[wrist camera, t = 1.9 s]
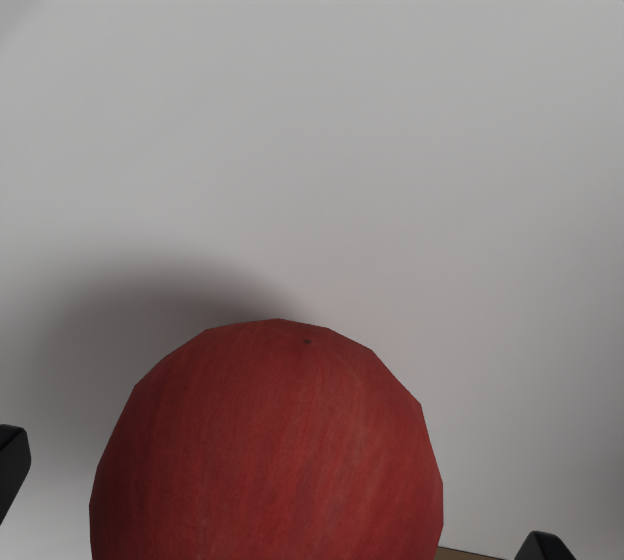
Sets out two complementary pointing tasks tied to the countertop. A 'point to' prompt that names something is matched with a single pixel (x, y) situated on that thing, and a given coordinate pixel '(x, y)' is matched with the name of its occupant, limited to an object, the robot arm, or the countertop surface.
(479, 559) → the wooden tray
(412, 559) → the onion
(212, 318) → the countertop surface
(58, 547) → the countertop surface
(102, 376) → the countertop surface
